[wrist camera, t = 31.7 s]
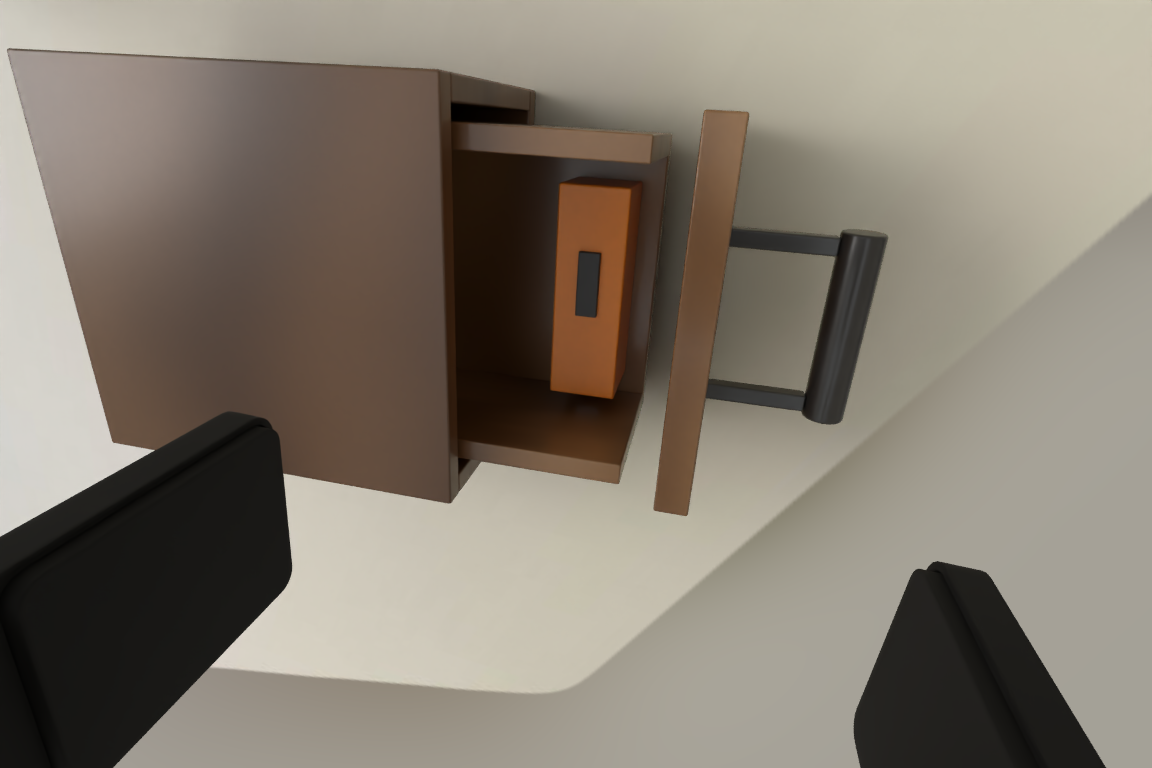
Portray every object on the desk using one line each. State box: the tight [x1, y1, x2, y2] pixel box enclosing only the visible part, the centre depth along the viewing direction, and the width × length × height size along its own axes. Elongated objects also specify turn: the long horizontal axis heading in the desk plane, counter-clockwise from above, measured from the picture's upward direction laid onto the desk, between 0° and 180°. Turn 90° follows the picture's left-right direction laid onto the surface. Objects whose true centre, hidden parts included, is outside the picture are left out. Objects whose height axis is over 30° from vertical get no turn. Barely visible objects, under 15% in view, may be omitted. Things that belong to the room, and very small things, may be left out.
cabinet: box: [7, 48, 535, 503], centre depth 25 cm, size 15×14×10 cm
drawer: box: [451, 110, 888, 516], centre depth 23 cm, size 18×13×8 cm
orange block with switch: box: [550, 177, 642, 399], centre depth 24 cm, size 9×3×3 cm, turn 177°
